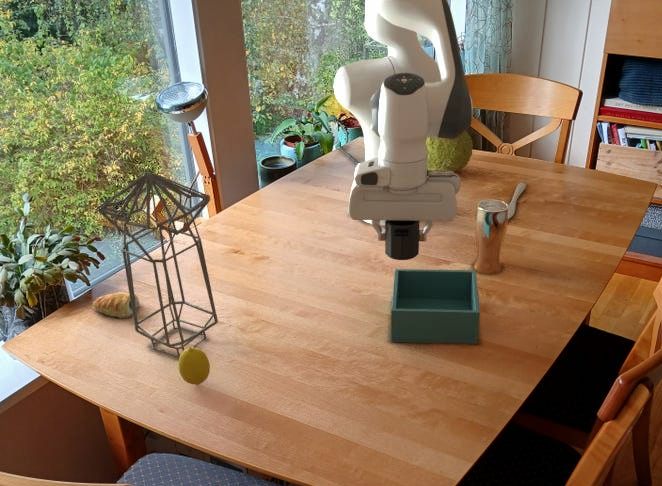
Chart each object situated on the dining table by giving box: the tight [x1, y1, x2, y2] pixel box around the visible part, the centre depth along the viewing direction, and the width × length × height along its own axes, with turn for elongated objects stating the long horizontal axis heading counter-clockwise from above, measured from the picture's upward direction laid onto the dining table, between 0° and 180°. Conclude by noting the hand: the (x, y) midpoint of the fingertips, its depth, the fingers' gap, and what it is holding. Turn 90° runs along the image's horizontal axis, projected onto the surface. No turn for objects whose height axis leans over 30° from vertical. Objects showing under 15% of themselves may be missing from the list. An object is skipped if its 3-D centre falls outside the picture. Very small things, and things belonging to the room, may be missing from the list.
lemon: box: [177, 346, 211, 386], centre depth 133 cm, size 6×6×8 cm
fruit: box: [426, 131, 474, 173], centre depth 212 cm, size 16×14×15 cm
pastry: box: [92, 291, 140, 319], centre depth 158 cm, size 9×7×4 cm
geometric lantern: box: [93, 172, 219, 358], centre depth 137 cm, size 16×16×35 cm
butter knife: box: [508, 182, 527, 220], centre depth 196 cm, size 1×27×3 cm
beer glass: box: [473, 198, 509, 275], centre depth 163 cm, size 7×7×15 cm
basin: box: [390, 268, 481, 345], centre depth 148 cm, size 17×17×7 cm
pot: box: [384, 220, 421, 261], centre depth 142 cm, size 9×6×7 cm
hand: (402, 239), depth 142 cm, fingers closed on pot, 6 cm apart
